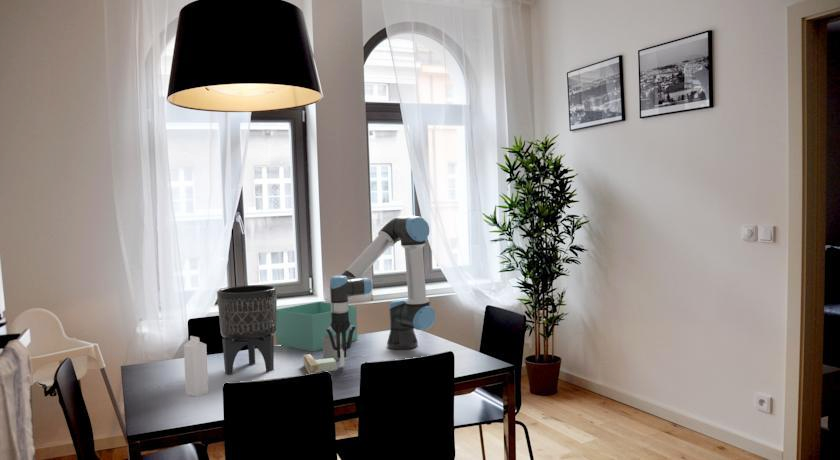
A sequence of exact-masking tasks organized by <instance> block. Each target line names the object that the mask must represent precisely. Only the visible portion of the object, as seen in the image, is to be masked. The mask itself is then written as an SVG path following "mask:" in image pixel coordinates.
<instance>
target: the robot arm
mask: <svg viewBox="0 0 840 460" xmlns="http://www.w3.org/2000/svg"><path fill="white" fill-rule="evenodd" d="M429 235H430V226H429V223H428V222H427V220H426V219H425V218H423V217H422V216H416V215H407V216H406V215H400V216H396V217H394V218H392V219H391V220H389V221H388V222H387V223H386V224H385V225H384V226H383V227H382V228H381V229H380V230H379V231H378V233H377V236H376V237H375V239H373V241H372V242H371V243H370V244H369V245H368V246H367V247H366V248H365V249H364V250H363V251H362V253H361V254H359V255H358V256H357V258H356V259H355V260H354V261H352V263H351V264H350V265H349V266H348V267H347V268H346V270H344V271H343V273H341V274H339V275H338V274H337V275H333V276H331V277H330V278H329V279H330V280H329V292H330V295H329V296H330V303H331V311H332V313H331V319H332V322H331V326H330V327H329V328H326V331H327V332H328V334H329V338H330V341H331V344H332V348H333V349H334V350H337V357H338V358H340V359H339V365H340V366H341V367H345V358H346V357H347V350H348V349H351V346H352V342H353V341H352V336H353V331H354V330H355V326H352V325H351V324H350V322H349V312H348V305H349V297H357V296H365V295H367V294H370V293H371V292H372V290H373V283H372V280H371V278H369V277H363V276H364V275H365V273H366V272H368V270H369V269H371V267H372V266H373V265H374V264H375V263H376V262H377V261H378V260H379V258H380V257H381V256H382V255H384V253H385V252H386V251H387V250H388V249H389V247H393V246H394V245H395V244H396V243H397V242H399V241H400V246H401V247H402V248H403V249H404V257H405V259H404V261H405V271H406V272H405V273H406V285H407V287H406V288H407V297H408V298H407V299H397V300H392V301H390V303H389V308H388V310H389V326H390V327H389V329H390V331H389V335H388V338H387V342H386V344H387V346H386V347H387V348H388V349H391V350H392V349H393V350H409V349H410V348H411V349H415V348H417V347H418V346H419V345H418V344H419V343H418V338H417V335H416V333H415V330H417V331H420V330H421V331H426V330H428V329H430V328H431V327H432V325H433V324H434V323H435V321H436V312H435V309H434V308H433V307H432V306H431V301H430V299H429V298H428V297H427V291H426V290H427V289H426V277H425V264H424V263H425V262H424V261H425V260H424V249H423V248H424V247H425V245H426V240H427V239H428V236H429ZM348 328H349V329H350V330H349V335H348V340H347V343H346V331H347V329H348ZM332 329H333V330H334V331H335V332H336V346H337V347H336V346H335V342H334V339H333V335H332V333H331V332H332ZM340 333H342V344H341V350H340ZM411 349H410V350H411Z"/></svg>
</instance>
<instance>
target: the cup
mask: <svg viewBox="0 0 840 460" xmlns="http://www.w3.org/2000/svg"><path fill="white" fill-rule="evenodd" d="M322 339H323V349H322V359H327V358H334V359H335V360H336V361H338V360H339V361H340V358H338V357H337V350H334V349H333V348H332V344H331V341H330V338H329V335H328V336H324V337H322ZM333 339H334V342H335V346H336V335H333ZM336 347H337V346H336ZM340 350H342V344H341V336H340Z"/></svg>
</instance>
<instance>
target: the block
mask: <svg viewBox="0 0 840 460" xmlns="http://www.w3.org/2000/svg"><path fill="white" fill-rule="evenodd" d="M314 360H315V361H316V362H317V363H318V365H319V373H322V371H325V372H332V371H337V370H338V369H337V367H338V366H337V360H335V359H334V358H327V359H323V358H319V359H314Z"/></svg>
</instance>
